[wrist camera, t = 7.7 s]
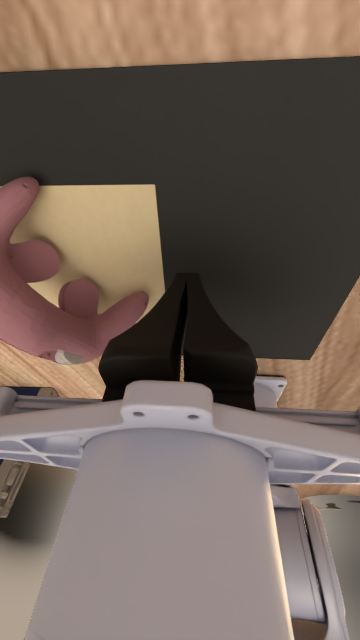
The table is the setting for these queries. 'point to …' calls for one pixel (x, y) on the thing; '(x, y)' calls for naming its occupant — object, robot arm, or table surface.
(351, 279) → the desk mat
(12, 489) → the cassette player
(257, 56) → the table surface
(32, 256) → the pink curved piece
